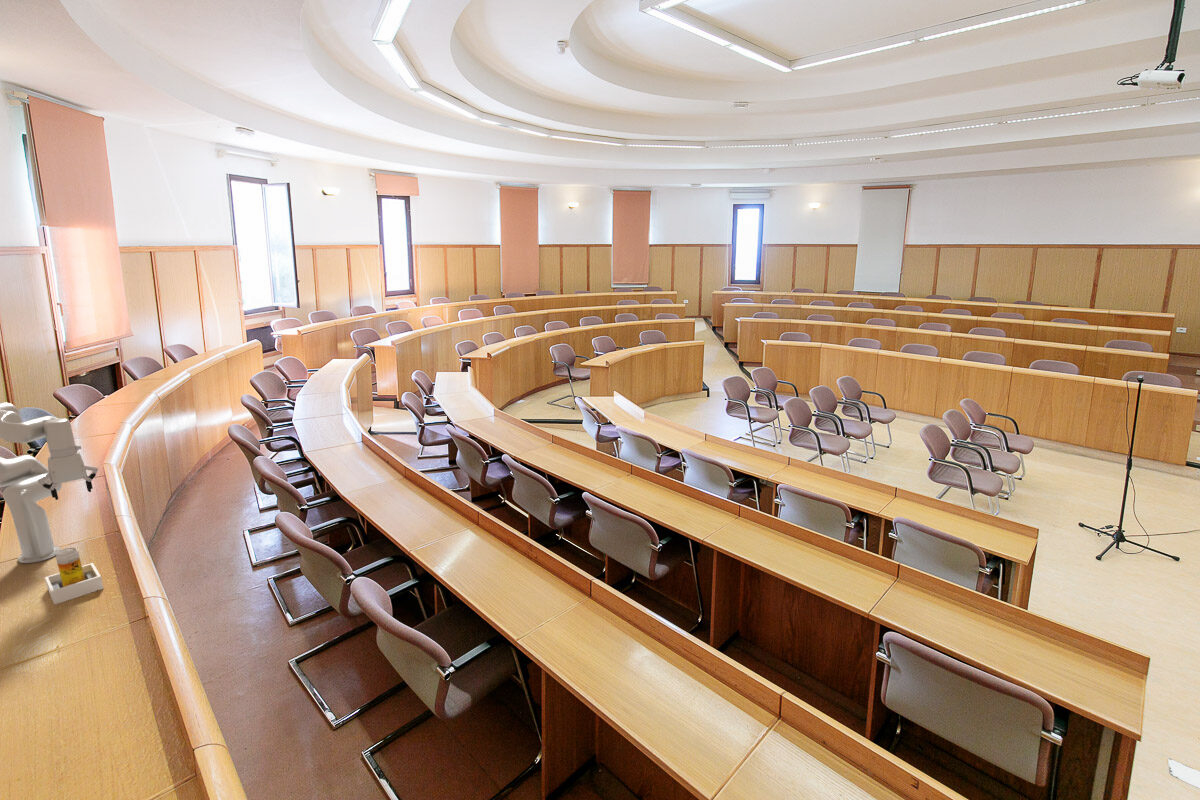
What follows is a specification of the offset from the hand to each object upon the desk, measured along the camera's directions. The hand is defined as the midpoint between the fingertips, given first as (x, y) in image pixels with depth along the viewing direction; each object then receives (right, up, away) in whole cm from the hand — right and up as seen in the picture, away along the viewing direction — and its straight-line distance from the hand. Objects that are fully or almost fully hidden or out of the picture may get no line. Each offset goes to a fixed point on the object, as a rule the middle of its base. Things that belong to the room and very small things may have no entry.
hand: (73, 494), depth 233 cm
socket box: (+10, -32, -10) cm, 35 cm away
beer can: (+10, -32, -10) cm, 35 cm away
